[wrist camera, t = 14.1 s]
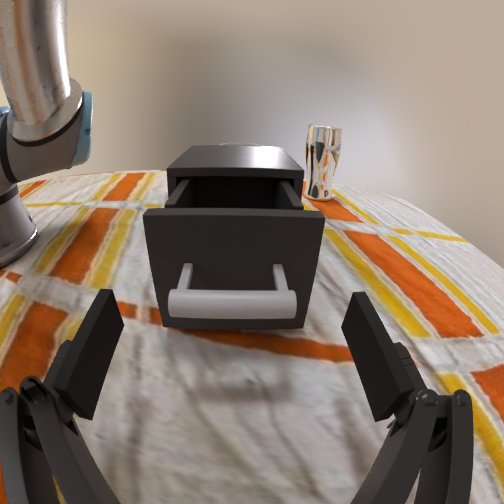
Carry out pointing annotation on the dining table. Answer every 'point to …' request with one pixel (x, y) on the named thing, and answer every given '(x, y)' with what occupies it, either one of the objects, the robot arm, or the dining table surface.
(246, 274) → the black drawer
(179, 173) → the small dark drawer box
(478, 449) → the dining table surface
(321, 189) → the beer glass
